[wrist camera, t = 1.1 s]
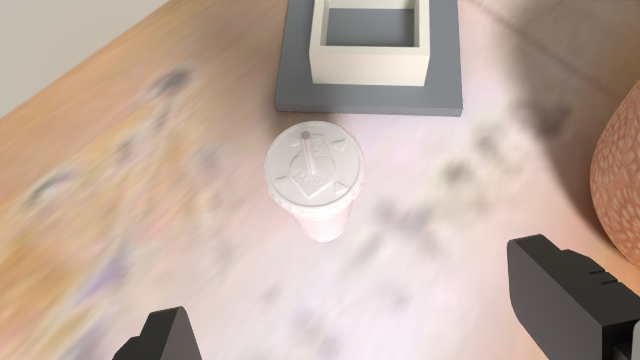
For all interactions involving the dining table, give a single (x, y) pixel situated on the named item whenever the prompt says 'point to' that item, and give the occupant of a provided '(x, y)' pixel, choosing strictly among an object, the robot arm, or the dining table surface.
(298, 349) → the dining table surface
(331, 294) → the dining table surface
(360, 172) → the smoothie
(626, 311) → the robot arm
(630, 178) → the planter
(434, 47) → the socket board
